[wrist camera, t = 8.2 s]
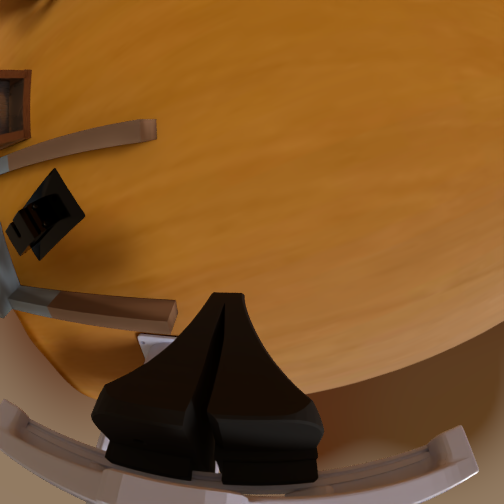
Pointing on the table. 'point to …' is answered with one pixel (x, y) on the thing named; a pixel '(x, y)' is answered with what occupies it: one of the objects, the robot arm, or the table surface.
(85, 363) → the table surface
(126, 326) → the bay
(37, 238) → the black holder block
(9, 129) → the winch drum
